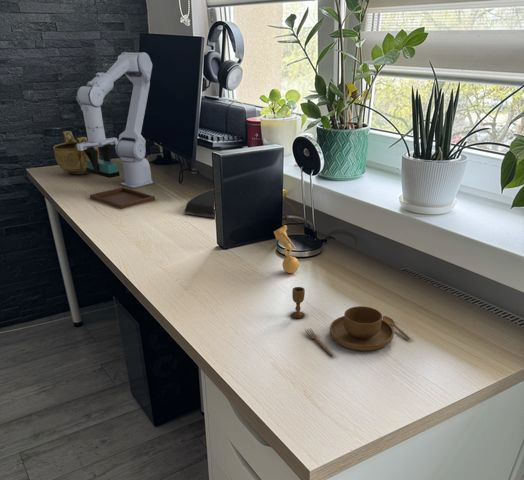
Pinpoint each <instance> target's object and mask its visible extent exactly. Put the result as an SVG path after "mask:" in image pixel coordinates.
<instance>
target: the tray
mask: <svg viewBox="0 0 524 480" xmlns="http://www.w3.org/2000/svg"><path fill="white" fill-rule="evenodd" d="M89 199H91V200H94V201H96V202H99V203H102V204H105V205H107V206H111V207H114V208H116V209H119V210H124V209H127V208H132V207H135V206H138V205H143V204H146V203H149V202H153V201H156V197H155V196H154V195H152V194H148V193H145V192H141V191H139V190H134V189H131V188H129V187H126V186H125V187H124V186H122V187H117V188H113V189H109V190H103V191H100V192H96V193H91V194H89Z"/></svg>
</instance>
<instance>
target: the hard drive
mask: <svg viewBox="0 0 524 480" xmlns="http://www.w3.org/2000/svg"><path fill="white" fill-rule="evenodd" d="M214 189H215V188H212V189H209V190H206V191H204V192H201V193H199V194H197V195H195V196H194V197H192V198H191V199H189V200H187V202H186V204H185V207H184V210H183V214H186V215H193V216H200V217H206V218H212V219H216V218H215V209H214Z"/></svg>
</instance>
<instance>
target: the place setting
mask: <svg viewBox="0 0 524 480" xmlns="http://www.w3.org/2000/svg"><path fill="white" fill-rule="evenodd" d="M305 291H306V289H305V288H304V287H302V286H295V287H293V288H292V291H291V293H292V295H291V296H292V301H293V302H294V303H295V305H296V306H295V311H293V312H291V313H290V316H291V318H293V319H296V320H297V319H298V320H300V319H303V318H305V316H306V314H305V313H304V312H303V311H301V310H302V308H301V303H303V302H304V300H305V294H306V292H305ZM394 328H395V330H397V331H398V332H399V333H400V334H401V335H402V336H403V337H404V338H406V339H407V340H411V337H409V336H408V334H406V333H405V331H403V330H402V329H401V328H399V327H398V326H397V325H396V324H395V321H394V320H393V318H391V317H390V316H387V315H383V314H382V313H381V312H380V311H379V310H377V308H373V307H370V306H363V305H358V306H352V307H350V308H348V309H346V310H345V312H344V315H342V316H339V317H337V318H336V319H334V320H333V321H332V322H331V323H330V326H329V333H330V336H331V338H332V339H333V340H334V342H336V343H337V344H339V345H340V346H342V347H344V348H347V349H350V350H354V351H362V352H364V351H365V352H367V351H369V352H370V351H375V350H380V349H382V348H385V347H386V346H388V345H389V344H390V343H391V342H392V340H393V339H394V335H395V330H394ZM304 331H305V332H306V335H307V336H308V337H309V339H311V340H315V342H317V343H318V344H319V346H320V347H322V349H323V350H324V351H325V352H326V353H327V354H328V355H330V356H331V357H334V355H333V353H332V352H331V351H330V350H329V349H328V348H327V346H325V344H323V343H322V342H321V341H320V340H319V339H318V338H317V335H316V334H315V333H314V331H313V329H312V328H311V327H310V328H307V329H304Z"/></svg>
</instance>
